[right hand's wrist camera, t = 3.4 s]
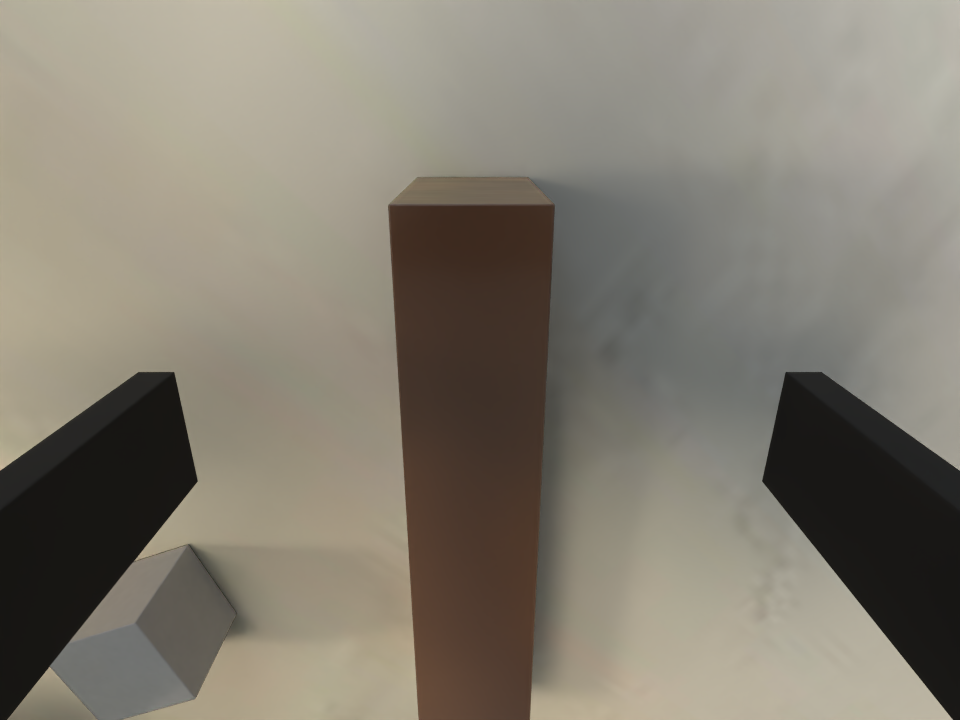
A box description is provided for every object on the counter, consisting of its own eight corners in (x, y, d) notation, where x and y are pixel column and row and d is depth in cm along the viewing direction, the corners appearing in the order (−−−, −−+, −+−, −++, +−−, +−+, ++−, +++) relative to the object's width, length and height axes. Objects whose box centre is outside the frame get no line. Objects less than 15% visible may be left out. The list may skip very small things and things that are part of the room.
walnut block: (435, 659, 32) (424, 817, 25) (416, 177, 22) (387, 204, 15) (513, 658, 32) (525, 816, 25) (528, 177, 23) (554, 203, 15)
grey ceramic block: (156, 637, 32) (102, 725, 27) (104, 570, 30) (36, 653, 25) (237, 613, 31) (195, 699, 26) (188, 543, 29) (134, 623, 25)
